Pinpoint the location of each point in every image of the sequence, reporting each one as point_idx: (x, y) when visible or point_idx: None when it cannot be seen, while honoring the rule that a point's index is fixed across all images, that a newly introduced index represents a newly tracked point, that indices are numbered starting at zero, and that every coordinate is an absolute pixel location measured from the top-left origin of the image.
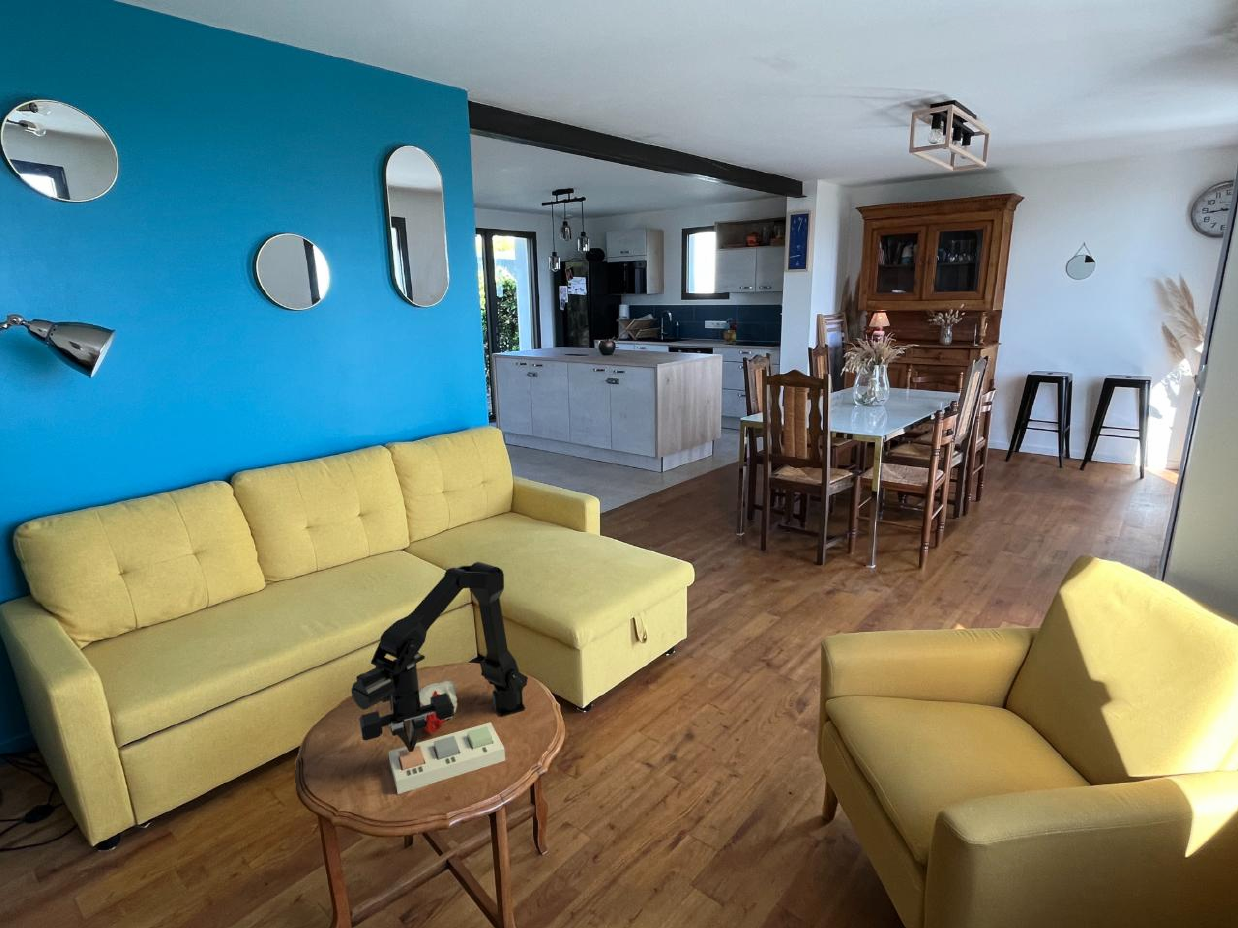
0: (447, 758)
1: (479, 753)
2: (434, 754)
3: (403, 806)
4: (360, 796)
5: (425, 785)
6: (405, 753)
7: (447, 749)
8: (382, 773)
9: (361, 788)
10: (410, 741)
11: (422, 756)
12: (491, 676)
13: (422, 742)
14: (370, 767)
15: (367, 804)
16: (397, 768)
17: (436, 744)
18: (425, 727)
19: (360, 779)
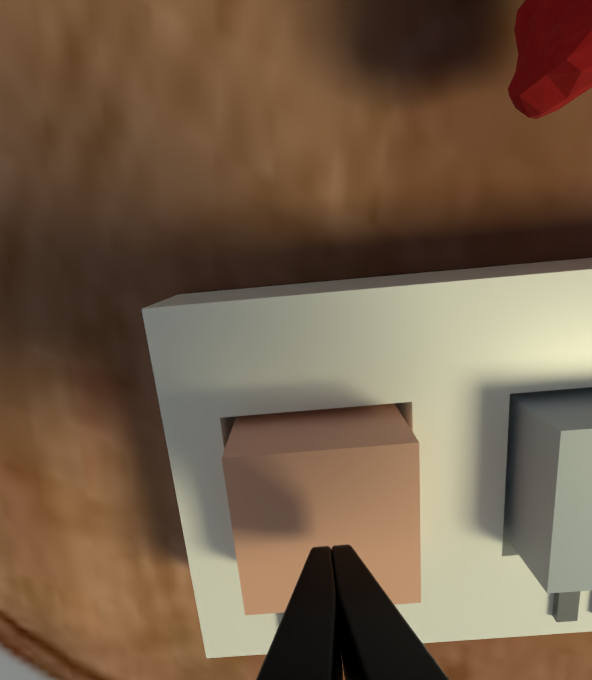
0: None
1: None
2: (497, 490)
3: (248, 658)
4: (28, 525)
5: None
6: (279, 506)
7: None
8: (135, 380)
9: (23, 466)
10: (351, 673)
11: (414, 593)
12: None
13: (441, 294)
14: (51, 288)
15: (74, 591)
16: (214, 545)
17: (567, 484)
18: (537, 83)
19: (4, 386)
